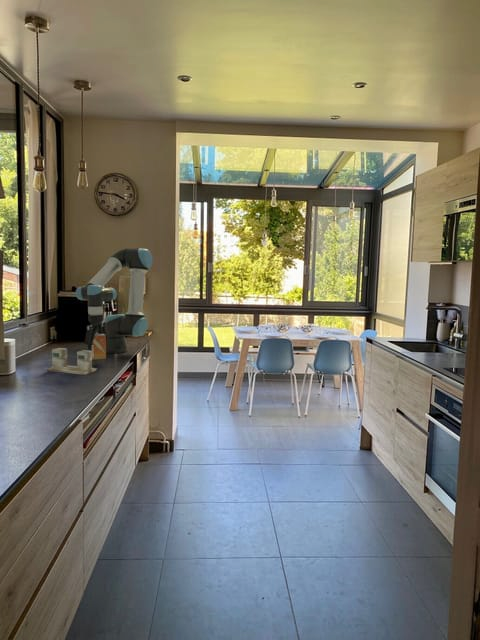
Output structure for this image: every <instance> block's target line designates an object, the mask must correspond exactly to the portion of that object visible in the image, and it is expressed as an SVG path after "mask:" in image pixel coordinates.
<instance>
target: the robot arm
mask: <svg viewBox="0 0 480 640" xmlns="http://www.w3.org/2000/svg"><path fill="white" fill-rule="evenodd" d="M152 266H153V256H152V254H151V252H150V250H149V249H147V248H141V247H140V248H133V247H132V248H129V247H128V248H127V247H126V248H123V249H119V250H118V251H117V252H115V253H113V254H112V255H111V256H110V257H109V258H108V259H107V262H106V263H105V265H103V267H101V269H100V270H99V271H98V272H97V273H96V274H95V275H94V276H93V277H92V278H91V279H90V280H89V281H88V283H86V285H85V286H78V287H77V288H76V290H75V297H76V298H77V299H78V300H80V301H87V312H88V313H87V314H88V320H87V321H88V322H89V323H90V324H89V325H86V326H85V329H86V333H85V340H84V345H85V346H87V350H88V351H92V357H94V349H93V345H92V343H93V340H94V336H95V334H105V336H106V354H122V352H123V353H126V352H128V350H129V349H128V347H129V346H128V345H127V342H126V336H127V337H129V336H130V337H143V336H144V335H145V333H146V332H147V330H148V328H149V322H148V319H147V318H146V317H145V314H144V313H143V311H144V310H143V308H144V307H143V306H144V296H145V281H146V274H147V273H148V272H149V269H150V268H151V267H152ZM124 268H128V271H129V272H130V282H129V292H128V293H129V295H128V309H127V312H126V313H118V314H111V315H110V314H109V315H106V316H105V319H104V307H103V304H104V303H105V302H111V301H114V300H116V298H117V297H118V292H117V290H116V289H115V288H113V287H109V286H108V287H104V286H106V284H107V283H108V282H109V281H110V280H111V279H112V278H113V277H114V275H115V274H116V273H117V272H119V271H121V270H122V269H124ZM104 320H105V322H103V321H104ZM90 342H91V343H90Z"/></svg>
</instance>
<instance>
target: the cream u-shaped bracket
mask: <svg viewBox="0 0 480 640" xmlns="http://www.w3.org/2000/svg"><path fill="white" fill-rule="evenodd" d="M51 355H52V360H51V361H52V362H51V363H52V366H51V367H50V368H47V371H48V372H55V373H65V374H74V375H88V374H90V373H94V372H96V371H98V368H97V367H96V368H95V367H93V360H92V351H88V349H87V350H86V349H82V350H79V351H77V352H76V359H77V361H76V362H77V363H76V365H68V349H67V348H64V347H63V348H61V347H58V348H57V347H56V348H52V349H51Z"/></svg>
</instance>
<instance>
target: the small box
mask: <svg viewBox="0 0 480 640" xmlns="http://www.w3.org/2000/svg"><path fill="white" fill-rule="evenodd" d="M90 343H91V342H90ZM92 345H93V349H94V357H92V361H93V360H100V359H101V360H102V359H103V360H104V359H107V353H106V336H105V334H98V333H96V334H95V336H94V340H93V343H92Z"/></svg>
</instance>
